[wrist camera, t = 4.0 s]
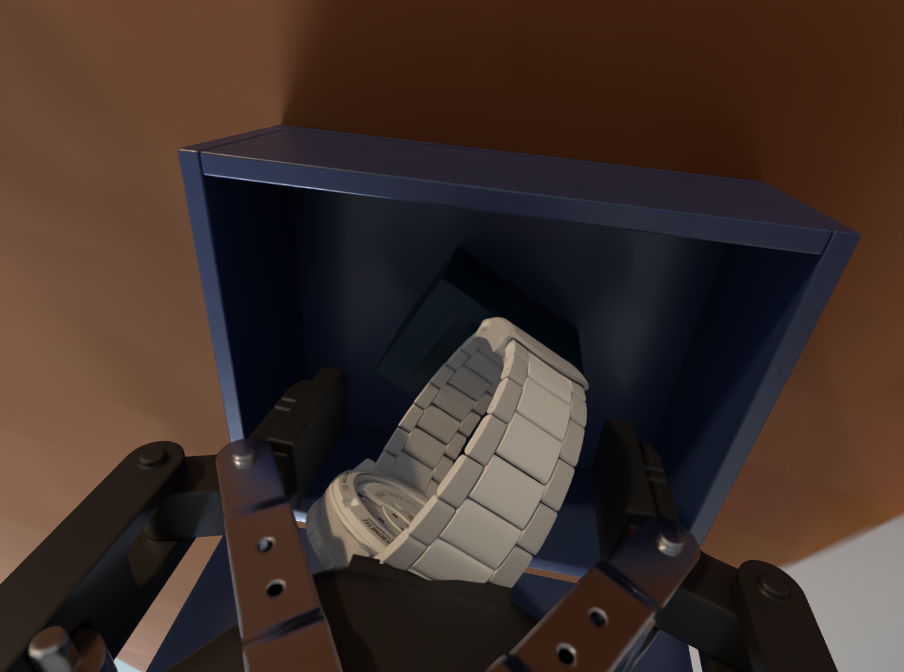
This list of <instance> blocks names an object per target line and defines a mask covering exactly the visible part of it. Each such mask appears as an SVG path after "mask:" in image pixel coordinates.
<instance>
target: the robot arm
mask: <svg viewBox="0 0 904 672" xmlns="http://www.w3.org/2000/svg"><path fill="white" fill-rule="evenodd" d="M347 417H348V374H347V371H345V370H339V369H334V368H328V367H322V368H321V369H320V370H319V371H318V373H317V374H316V375H315V377H314V378H313V379H312V380H311V381H310V380H305V379H303V380H301V381H300V382H298V383H296V384H294V385H293V386H291V387H289V389H288V390H287V391H286V392H285V394H284V395H283V396H282V397H281V400H279V401H278V402H277V404H276V405H275V406H274V409H272V410H271V411H270V412H269V413H268V415H267V416H266V417H265V418H264V420H263V421H262V422H261V423H260V424H259V426H258V427H257V428H256V429H255V431H254V432H253V433H252V434H251V436H250V437H249V438H244V439H240V440H236V441H234V442H231V443H229V444H228V445H226V446H225V447H223V448H222V449H221V450H220V452H219V453H218V455H207V456H188V457H185V454H184V450H183V448H182V447H181V446H180V445H179V444H177V443H174V442H170V441H158V442H153V443H149V444H146V445H143V446H141V447H139V448H137V449H135V450H134V451H132V452H131V453H130V454H129V455H128V456H127V457H126V458H125V459H124V460H123V461H122V462H121V463H120V464H119V465H118V466H117V467H116V468H115V469H114V470H113V471H112V472H111V473H110V474H109V475H108V476H107V477H106V478H105V479H104V480H103V481H102V482H101V483H100V484H99V485H98V486H97V487H96V488H95V489H94V490H93V491H92V492H91V493H90V494H89V495H88V496H87V497H86V498H85V499H84V500H83V501H82V502H81V503H80V504H79V505H78V506H77V507H76V508H75V509H74V510H73V511H72V512H71V513H70V514H69V515H68V516H67V517H66V518H65V519H64V520H63V521H62V522H61V523H60V524H59V525H58V526H57V527H56V529H55V530H54V531H53V532H52V533H51V534H50V535H49V536H48V537H47V538H46V539H45V540H44V541H43V542H42V543H41V544H40V545H39V546H38V547H37V548H36V549H35V550H34V551H33V552H32V553H31V554H30V555H29V556H28V557H27V558H26V559H25V560H24V561H23V562H22V563H21V564H20V565H19V566H18V567H17V568H16V569H15V570H14V571H13V572H12V573H11V574H10V575H9V576H8V577H7V578H6V579H5V580H4V581H3V582H2V583H1V584H0V672H118V671H117V668H116V666H115V664H114V659H115V658H116V656H117V655H118V653H119V652H120V651H121V649H122V648H123V646H124V645H125V643H126V642H127V640H128V639H129V637H130V636H131V634H132V633H133V631H134V630H135V628H136V627H137V625H138V624H139V622H140V621H141V619H142V618H143V616H144V615H145V613H146V612H147V610H148V609H149V607H150V606H151V604H152V603H153V601H154V600H155V598H156V597H157V595H158V594H159V592H160V591H161V589H162V588H163V586H164V585H165V583H166V582H167V580H168V579H169V577H170V576H171V574H172V573H173V571H174V570H175V569H176V567H177V566H178V564H179V563H180V561H181V560H182V558H183V557H184V555H185V554H186V552H187V551H188V549H189V548H190V546H191V545H192V543H193V542H194V540H195V539H196V537H207V536H219V535H226V541H227V548H228V555H229V562H230V569H231V575H232V582H233V589H234V596H235V603H236V609H237V616H238V623H237V624H235V625H234V626H232V627H231V628H229V629H228V630H226V631H225V632H223V633H222V634H220V635H219V636H217V637H216V638H214V639H213V640H211V641H210V642H208V643H207V644H205V645H204V646H202V647H201V648H199V649H198V650H196V651H195V652H193V653H192V654H190V655H189V656H187V657H186V658H184V659H183V660H181V661H180V662H178V663H177V664H175V665H174V666H172V667H171V668H169V669H168V670H166V671H165V672H632V671H633V670H634V668H635V667H636V665H637V664H638V663H639V661H640V660H641V658H642V657H643V656H644V654H645V653H646V651H647V650H648V648H649V647H650V646H651V644H652V643H653V641H654V640H655V638H656V637H657V636H658V634H659V633H660V631H661V630H662V631H664V632H666V633H668V634H670V635H671V636H673V637H675V638H677V639H679V640H681V641H683V642H685V643H687V644H688V645H690V646H692V647H694V648H696V649H698V652H699V657H700V662H701V666H702V671H703V672H838V671H837V668H836V666H835V664H834V661H833V659H832V657H831V654H830V652H829V650H828V647H827V645H826V643H825V640H824V638H823V636H822V634H821V631H820V629H819V626H818V624H817V622H816V619H815V617H814V615H813V612H812V610H811V608H810V606H809V603H808V601H807V599H806V596H805V594H804V592H803V590H802V589H801V588H800V586H799V585H798V584H797V583H796V582H795V580H793V579H792V578H791V577H790V576H789V575H788V574H787V573H785V572H784V571H782V570H781V569H779V568H777V567H776V566H774V565H771V564H769V563H766V562H763V561H758V560H750V561H746V562H744V563H742V564H741V566H740V567H739V569H737V568H735V567H733V566H730V565H728V564H726V563H724V562H722V561H719V560H717V559H715V558H713V557H711V556H709V555H707V554H706V553H704V552H702V551H701V550H700V547H699V544H698V542H697V540H696V539H695V537H694V536H693V535H692V534H691V533H690V532H689V531H688V530H687V529H686V528H685V527H683V526H682V525H680V521H679V518H678V514H677V511H676V508H675V504H674V501H673V497H672V494H671V490H670V487H669V484H668V480H667V477H666V473H664V467H663V463H662V460H661V456H660V455H659V454H658V453H657V451H656V450H655V449H654V448H653V446H652V445H651V444H650V443H649V442H643V441H638V437H637V433H636V429H635V425H634V423H633V422H628V421H623V420H617V419H611V418H607V419H606V420H605V422H604V425H603V429H602V432H601V435H600V438H599V441H598V444H597V448H596V451H595V454H594V458H593V462H592V486H593V495H594V504H595V513H596V522H597V532H598V541H599V550H600V559H601V561H598V562H597V563H595V564H594V565H593V566H592V567H591V568H590V569H589V570H588V571H587V572H586V574H585V575H584V576H583V577H582V578H581V579H580V580H579V581H578V582H577V583H576V584H575V585H574V586H573V587H572V588H571V589H570V590H569V591H568V592H567V593H566V594H565V595H564V596H563V598H562V599H561V600H560V601H559V602H558V603H557V604H556V605H555V606H554V607H553V608H552V609H551V610H550V611H549V612H548V613H547V614H546V615H545V616H544V617H543V618H542V619H541V620H540V621H538V620H537V619H536V618H535V617H534V616H533V615H531V614H530V613H529V612H528V611H526V610H525V609H523V608H522V607H520V606H519V605H517V604H515V603H513V602H511V596H512V588H509V587H505V586H500V585H495V584H491V583H479V582H471V581H464V580H427V579H425V578H423V577H421V576H419V575H417V574H415V573H413V572H411V571H408V570H403V569H398V568H395V567H392V566H390V565H389V564H387V563H383V564H380V559H375V558H371V557H366V556H361V555H357V554H353V555H352V558H351V560H350V563H349V565H348V566H342V567H336V568H331V569H327V570H323V571H320V572H318V573H315V574H313V575H312V573H311V570H310V566H309V563H308V560H307V556H306V553H305V549H304V546H303V543H302V539H301V536H300V532H299V529H298V525H297V522H296V519H295V515H294V512H293V508H292V507H296V508H299V507H300V506H301V504H302V502H303V500H304V498H305V497H306V495H307V493H308V491H309V490H310V488H311V486H312V484H313V483H314V481H315V479H316V477H317V475H318V474H319V472H320V470H321V468H322V467H323V465H324V463H325V461H326V460H327V458H328V456H329V454H330V452H331V451H332V449H333V447H334V445H335V444H336V442H337V440H338V438H339V437H340V435H341V433H342V431H343V429H344V427H345V425H346V421H347Z"/></svg>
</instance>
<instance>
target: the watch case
mask: <svg viewBox="0 0 904 672" xmlns="http://www.w3.org/2000/svg"><path fill="white" fill-rule="evenodd" d="M178 155H179V161H180V166H181V172H182V177H183V183H184V188H185V194H186V199H187V205H188V210H189V216H190V221H191V227H192V232H193V238H194V243H195V249H196V254H197V260H198V265H199V271H200V276H201V282H202V287H203V293H204V298H205V304H206V309H207V315H208V320H209V326H210V331H211V337H212V342H213V348H214V353H215V359H216V364H217V370H218V375H219V381H220V386H221V392H222V397H223V403H224V408H225V414H226V419H227V425H228V430H229V436H230V441H231V442H234V441H236V440H240V439H244V438H249V437H250V436H251V434H252V433H253V432H254V431H255V429H256V428H257V427H258V426H259V424H260V423H261V422H262V421H263V420H264V418H265V417H266V416H267V415H268V413H269V412H270V411H271V410H272V409H274V406H275V405H276V404H277V402H278V401H279V400H281V397H282V396H283V395H284V394H285V392H286V391H287V390H288V389H289V387H291V386H293V385H294V384H296V383H298V382H300V381H301V380H303V379H305V380H310V381H311V380H312V379H313V378H314V377H315V375H316V374H317V373H318V371H319V370H320V369H321V368H322V367H328V368H334V369H339V370H345V371H347V374H348V417H347V421H346V425H345V427H344V429H343V431H342V433H341V435H340V437H339V438H338V440H337V442H336V444H335V445H334V447H333V449H332V451H331V452H330V454H329V456H328V458H327V460H326V461H325V463H324V465H323V467H322V468H321V470H320V472H319V474H318V475H317V477H316V479H315V481H314V483H313V484H312V486H311V488H310V490H309V491H308V493H307V495H306V497H305V498H304V500H303V502H302V504H301V506H300V507H299V508H296V507H292V508H293V512H294V515H295V519H296V520H297V521H302V522H306V516H307V514H308V512H309V510H310V508H311V507H312V505H313V504H314V503H315V502H316V501H317V500H318V499H319V498H321V497H322V496H323V494H324V493H325V491H326V490H327V488H328V487H329V485H330V484H331V482H332V481H333V480H334V478H335V477H336V476H338V475H340V474H341V473H343V472H345V471H347V470H353V469H355V468H356V467H357V466H358V465H359V464H361V463H362V462H363V461H364V460H366V459H368V458H369V459H370V460H372V461H374V462H375V464H376V462H377V460H378V458H379V457H380V455H381V454H382V452H383V451H384V450H383V449H384V447H385V446H386V444H387V443H388V441H389V439H390V438H391V436H392V435H393V433H394V432H395V430H396V429H397V427H398V428H400V429H402V428H401V427H399V426H398V425H399V423H400V422H401V420H402V419H403V417H404V416H405V414H406V413H407V411H408V410H409V409H410V407H411V406H412V404H415V403H414V401H415V399H416V398H417V397H415V396H414V395H412V394H411V393H409V392H407V391H406V390H404V389H403V388H401V387H400V386H398V385H397V384H395V383H393V382H392V381H390V380H389V379H387V378H386V377H384V376H382V375H381V374H379V373H378V372H376V371H375V370H376V368H377V367H378V365H379V363H380V361H381V359H382V357H383V356H384V354H385V352H386V350H387V348H388V346H389V345H390V343H391V341H392V339H393V337H394V335H395V334H396V332H397V330H398V328H399V327H400V326H401V324H402V323H403V321H404V320H405V319H406V317H407V316H408V314H409V313H410V312H411V310H412V309H413V307H414V306H415V305H416V303H417V302H418V300H419V299H420V298H421V296H422V295H423V293H424V292H425V291H426V289H427V288H428V286H429V285H430V284H431V282H432V281H433V279H434V278H435V277H436V275H437V274H438V273H439V271H440V270H441V268H442V267H443V266H444V264H445V263H446V261H447V260H448V259H449V257H450V256H451V254H452V253H453V252H454V250H455V249H456V247H457V246H459V247H461V248H462V249H463V250H465V251H466V252H468V253H469V254H471V255H472V256H473V257H475V258H476V259H478V260H479V261H480V262H482V263H483V264H485V265H486V266H488V267H489V268H490V269H492V270H493V271H495V272H496V273H497V274H499V275H500V276H502V277H503V278H505V279H506V280H507V281H509V282H510V283H512V284H513V285H514V286H516V287H517V288H519V289H520V290H522V291H523V292H524V293H526V294H527V295H529V296H530V297H531V298H533V299H534V300H536V301H537V302H538V303H540V304H541V305H543V306H544V307H546V308H547V309H548V310H550V311H551V312H553V313H554V314H555V315H557V316H558V317H560V318H561V319H563V320H564V321H565V322H567V323H568V324H570V325H571V326H572V327H574V328H575V329H577V330H578V333H579V341H580V349H581V356H582V364H583V372H584V378H585V379H586V381H587V382H588V387H589V388H588V389H587V390H586V391H584V393H585V396H586V401H585V403H586V407H587V420H586V426H585V427H584V430H585V432H584V438H583V443H582V447H581V452H580V455H579V459H578V462H577V464H576V466H575V467H573V468H574V475H573V477H572V480H571V483H570V486H569V488H568V491H567V494H566V496H565V498H564V501H563V503H562V505H561V507H560V509H559V510H558V511H555V510H554V509H552V508H551V507H549V506H548V505H546V504H544V503H543V502H541V501H540V503H542V504H544V505H545V506H547V507H548V508H550V509H552V510H553V511H555V512H556V513H557V517H556V520H555V522H554V524H553V526H552V528H551V530H550V532H549V534H548V535H547V537H546V539H545V541H544V543H543V544H542V546H541V548H540V549H539V551H538V553H537V554H536V555H533V554H532V553H531V555H532V560H531V562H530V564H529V565H528V567H532V568H537V569H542V570H547V571H552V572H557V573H562V574H567V575H572V576H577V577H583V576H584V575H585V574H586V572H587V571H588V570H589V569H590V568H591V567H592V566H593V565H594V564H595V563H597V562H598V561H601V559H600V550H599V541H598V532H597V522H596V513H595V504H594V495H593V486H592V462H593V458H594V454H595V451H596V448H597V444H598V441H599V438H600V435H601V432H602V429H603V425H604V422H605V420H606V419H607V418H611V419H617V420H623V421H628V422H633V423H634V425H635V429H636V433H637V437H638V441H643V442H649V443H650V444H651V445H652V446H653V448H654V449H655V450H656V451H657V453H658V454H659V455H660V456H661V460H662V463H663V467H664V473H666V477H667V480H668V484H669V487H670V490H671V494H672V497H673V501H674V504H675V508H676V511H677V514H678V518H679V521H680V525H682V526H683V527H685V528H686V529H687V530H688V531H689V532H690V533H691V534H692V535H693V536H694V537H695V539H696V540H697V542H698V544H699V547H701V545H702V543H703V541H704V539H705V537H706V535H707V534H708V532H709V530H710V528H711V526H712V524H713V522H714V520H715V518H716V516H717V514H718V512H719V510H720V508H721V506H722V505H723V503H724V501H725V499H726V497H727V495H728V493H729V491H730V489H731V487H732V485H733V483H734V481H735V479H736V477H737V476H738V474H739V472H740V470H741V468H742V466H743V464H744V462H745V460H746V458H747V456H748V454H749V452H750V450H751V448H752V446H753V445H754V443H755V441H756V439H757V437H758V435H759V433H760V431H761V429H762V427H763V425H764V423H765V421H766V419H767V417H768V416H769V414H770V412H771V410H772V408H773V406H774V404H775V402H776V400H777V398H778V396H779V394H780V392H781V390H782V388H783V387H784V385H785V383H786V381H787V379H788V377H789V375H790V373H791V371H792V369H793V367H794V365H795V363H796V361H797V359H798V358H799V356H800V354H801V352H802V350H803V348H804V346H805V344H806V342H807V340H808V338H809V336H810V334H811V332H812V330H813V329H814V327H815V325H816V323H817V321H818V319H819V317H820V315H821V313H822V311H823V309H824V307H825V305H826V303H827V301H828V299H829V298H830V296H831V294H832V292H833V290H834V288H835V286H836V284H837V282H838V280H839V278H840V276H841V274H842V272H843V270H844V269H845V267H846V265H847V263H848V261H849V259H850V257H851V255H852V253H853V251H854V249H855V247H856V245H857V243H858V241H859V240H860V238H861V234H860V233H858V232H856V231H854V230H853V229H851V228H849V227H847V226H845V225H843V224H841V223H839V222H838V221H836V220H834V219H832V218H830V217H828V216H826V215H825V214H823V213H821V212H819V211H817V210H815V209H813V208H812V207H810V206H808V205H806V204H804V203H802V202H800V201H798V200H797V199H795V198H793V197H791V196H789V195H787V194H785V193H784V192H782V191H780V190H778V189H776V188H774V187H772V186H771V185H769V184H767V183H765V182H763V181H755V180H747V179H738V178H730V177H721V176H713V175H704V174H695V173H687V172H678V171H670V170H661V169H653V168H644V167H636V166H627V165H619V164H610V163H602V162H593V161H585V160H576V159H568V158H559V157H551V156H542V155H534V154H525V153H517V152H508V151H500V150H491V149H483V148H474V147H466V146H457V145H449V144H440V143H432V142H423V141H415V140H406V139H398V138H389V137H381V136H372V135H364V134H355V133H347V132H338V131H330V130H321V129H313V128H304V127H296V126H287V125H277V126H273V127H269V128H264V129H260V130H256V131H251V132H247V133H243V134H239V135H234V136H230V137H226V138H221V139H217V140H213V141H209V142H204V143H200V144H196V145H191V146H187V147H183V148H179V149H178ZM415 405H416V404H415ZM417 406H418V405H417ZM418 407H420V406H418ZM420 408H421V407H420ZM421 409H423V408H421ZM423 410H424V409H423ZM416 427H417V428H419V429H421V428H420V427H418V426H416ZM402 430H404V429H402ZM421 430H422V431H424V430H423V429H421ZM404 431H405V432H407V431H406V430H404ZM424 432H425V433H427V432H426V431H424ZM457 432H459V431H457ZM407 433H408V434H409V432H407ZM459 433H460V432H459ZM427 434H428V435H430V436H432V435H431V434H429V433H427ZM461 434H462V433H461ZM462 435H464V434H462ZM473 435H474V434H473V433H472V432H471V434H470V435H469V436H468V437H467V436H465V435H464V436H465V437H466V441H465V443H464V445H463V447H462V449H461V451H460V453H459V454H458V456H457V458H456V459H455V460H452V459H451V458H449V457H447V456H446V455H444V454H443V455H444V456H445V457H447V458H448V459H450V460H452V461H453V465H454V463H455V462H456V460H457V459H458V458H459V457H460V456H461V455H465V456H467V457H469V458H470V459H472V460H474V459H473V458H471V457H470V456H468V455H466V454H465V448H466V446H467V445H468V443H469V441H470V440H471V438H472V437H473ZM432 437H433V438H435V437H434V436H432ZM435 439H436V440H438V441H440V440H439V439H437V438H435ZM440 442H441V443H443V442H442V441H440ZM443 444H444V445H446V444H445V443H443ZM401 451H402V450H401ZM402 452H404V451H402ZM404 453H405V452H404ZM406 454H407V453H406ZM407 455H408V454H407ZM494 455H496V456H498V457H499V458H501V459H502V460H504V461H505V462H507V463H509V464H510V465H512V466H513V467H515V468H516V469H518V470H520V471H521V472H523V473H524V474H526V475H527V476H529V477H531V478H532V479H534V480H535V481H537V482H538V483H540V484H541V482H540V481H538V480H537V479H535V478H533V477H532V476H530V475H529V474H527V473H526V472H524V471H522V470H521V469H519V468H518V467H516V466H515V465H513V464H511V463H510V462H508V461H507V460H505V459H504V458H502V457H500V456H499V455H497V454H496V453H494ZM409 456H410V455H409ZM410 457H412V456H410ZM412 458H413V457H412ZM414 459H415V458H414ZM415 460H417V459H415ZM417 461H418V460H417ZM474 461H475V462H477V463H478V464H480V465H482V464H481V463H479V462H478V461H476V460H474ZM419 462H420V461H419ZM420 463H421V462H420ZM422 464H423V463H422ZM423 465H425V464H423ZM425 466H426V465H425ZM427 467H428V466H427ZM428 468H430V467H428ZM430 469H431V468H430ZM432 470H433V469H432ZM467 497H469V496H467ZM469 498H470V497H469ZM470 499H472V498H470ZM472 500H473V499H472ZM474 501H475V500H474ZM475 502H477V501H475ZM477 503H478V502H477ZM479 504H480V503H479ZM480 505H482V504H480ZM482 506H483V505H482ZM484 507H485V506H484ZM485 508H487V507H485ZM487 509H488V508H487ZM488 510H490V509H488ZM490 511H491V510H490ZM492 512H493V511H492ZM493 513H495V512H493ZM495 514H496V513H495ZM497 515H498V514H497ZM498 516H500V515H498ZM500 517H501V516H500ZM501 518H503V517H501ZM503 519H504V518H503ZM505 520H506V519H505ZM506 521H508V520H506ZM508 522H509V521H508ZM510 523H511V522H510ZM511 524H513V523H511ZM513 525H514V524H513ZM515 526H516V525H515ZM516 527H517V526H516Z"/></svg>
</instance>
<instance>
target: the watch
mask: <svg viewBox="0 0 904 672" xmlns="http://www.w3.org/2000/svg"><path fill="white" fill-rule="evenodd" d="M375 371H376V372H378V373H379V374H381V375H382V376H384V377H386V378H387V379H389V380H390V381H392V382H393V383H395V384H397V385H398V386H400V387H401V388H403V389H404V390H406V391H407V392H409V393H411V394H412V395H414V396H415V397H417V398H416V399H415V401H414V403H415V404H416V405H415V404H412V406H411V407H410V409H409V410H408V411H407V413H406V414H405V416H404V417H403V419H402V420H401V422H400V423H399V425H398V426H399V427H401V428H402V429H404V430H406V431H407V432H409V434H408V433H407V432H405V431H404V430H402V429H400V428H398V427H397V429H396V430H395V432H394V433H393V435H392V436H391V438H390V439H389V441H388V443H387V444H386V446H385V447H384V449H383V450H384V451H383V452H382V454H381V455H380V457H379V458H378V460H377V462H376V464H375V462H374V461H372V460H370V459H369V458H368V459H366V460H364V461H363V462H362V463H361V464H359V465H358V466H357V467H356V468H355V469H353V470H347V471H345V472H343V473H341V474H340V475H338V476H336V477H335V478H334V480H333V481H332V482H331V484H330V485H329V487H328V488H327V490H326V491H325V493H324V494H323V496H322V497H321V498H319V499H318V500H317V501H316V502H315V503H314V504H313V505H312V507H311V508H310V510H309V512H308V514H307V516H306V529H307V530H306V532H307V535H308V539H309V542H310V543H311V546H312V548H313V550H314V552H315V554H316V555H317V557H318V558H319V560H320V562H321V563H322V565H323V566H324V567H325V569H326V570H327V569H331V568H336V567H342V566H348V565H349V563H350V560H351V558H352V555H353V554H357V555H361V556H366V557H371V558H375V559H380V564H383V563H387V564H389V565H390V566H392V567H395V568H398V569H403V570H408V571H411V572H413V573H415V574H417V575H419V576H421V577H423V578H425V579H427V580H464V581H471V582H479V583H491V584H495V585H500V586H505V587H509V588H512V587H513V586H514V584H515V583H516V582H517V581H518V579H519V578H520V577H521V575H522V574H523V572H524V571H525V569H526V568H527V567H528V565H529V564H530V562H531V560H532V555H531V553H532V554H533V555H536V554H537V553H538V551H539V549H540V548H541V546H542V544H543V543H544V541H545V539H546V537H547V535H548V534H549V532H550V530H551V528H552V526H553V524H554V522H555V520H556V517H557V513H556V512H555V511H558V510H559V509H560V507H561V505H562V503H563V501H564V498H565V496H566V494H567V491H568V488H569V486H570V483H571V480H572V477H573V475H574V468H573V467H575V466H576V464H577V462H578V459H579V455H580V452H581V447H582V443H583V438H584V432H585V430H584V427H585V426H586V420H587V407H586V403H585V401H586V396H585V393H584V391H586V390H587V389H588V388H589V387H588V382H587V381H586V379H585V378H584V372H583V364H582V356H581V349H580V341H579V333H578V330H577V329H575V328H574V327H572V326H571V325H570V324H568V323H567V322H565V321H564V320H563V319H561V318H560V317H558V316H557V315H555V314H554V313H553V312H551V311H550V310H548V309H547V308H546V307H544V306H543V305H541V304H540V303H538V302H537V301H536V300H534V299H533V298H531V297H530V296H529V295H527V294H526V293H524V292H523V291H522V290H520V289H519V288H517V287H516V286H514V285H513V284H512V283H510V282H509V281H507V280H506V279H505V278H503V277H502V276H500V275H499V274H497V273H496V272H495V271H493V270H492V269H490V268H489V267H488V266H486V265H485V264H483V263H482V262H480V261H479V260H478V259H476V258H475V257H473V256H472V255H471V254H469V253H468V252H466V251H465V250H463V249H462V248H461V247H459V246H457V247H456V249H455V250H454V252H453V253H452V254H451V256H450V257H449V259H448V260H447V261H446V263H445V264H444V266H443V267H442V268H441V270H440V271H439V273H438V274H437V275H436V277H435V278H434V279H433V281H432V282H431V284H430V285H429V286H428V288H427V289H426V291H425V292H424V293H423V295H422V296H421V298H420V299H419V300H418V302H417V303H416V305H415V306H414V307H413V309H412V310H411V312H410V313H409V314H408V316H407V317H406V319H405V320H404V321H403V323H402V324H401V326H400V327H399V328H398V330H397V332H396V334H395V335H394V337H393V339H392V341H391V343H390V345H389V346H388V348H387V350H386V352H385V354H384V356H383V357H382V359H381V361H380V363H379V365H378V367H377V368H376V370H375ZM417 405H418V406H420V407H421V408H423V409H424V410H423V409H421V408H420V407H418V406H417ZM416 426H418V427H420V428H421V429H423V430H424V431H426V432H427V433H429V434H431V435H432V436H434V437H435V438H437V439H439V440H440V441H442V442H443V443H445V444H446V445H444V444H443V443H441V442H440V441H438V440H436V439H435V438H433V437H432V436H430V435H428V434H427V433H425V432H424V431H422V430H421V429H419V428H417V427H416ZM457 431H459V432H460V433H459V432H457ZM471 432H472V433H473V434H474V435H473V437H472V438H471V440H470V441H469V443H468V445H467V446H466V448H465V454H466V455H468V456H470V457H471V458H473V459H474V460H476V461H478V462H479V463H481V464H482V465H480V464H478V463H477V462H475V461H474V460H472V459H470V458H469V457H467V456H465V455H461V456H460V457H459V458H458V459H457V460H456V462H455V463H454V465H453V461H452V460H455V459H456V458H457V456H458V454H459V453H460V451H461V449H462V447H463V445H464V443H465V441H466V437H465V436H467V437H468V436H469V435H470V434H471ZM461 433H462V434H464V435H465V436H464V435H462V434H461ZM401 450H402V451H404V452H405V453H404V452H402V451H401ZM406 453H407V454H408V455H407V454H406ZM494 453H496V454H497V455H499V456H500V457H502V458H504V459H505V460H507V461H508V462H510V463H511V464H513V465H515V466H516V467H518V468H519V469H521V470H522V471H524V472H526V473H527V474H529V475H530V476H532V477H533V478H535V479H537V480H538V481H540V482H541V484H540V483H538V482H537V481H535V480H534V479H532V478H531V477H529V476H527V475H526V474H524V473H523V472H521V471H520V470H518V469H516V468H515V467H513V466H512V465H510V464H509V463H507V462H505V461H504V460H502V459H501V458H499V457H498V456H496V455H494ZM443 454H444V455H446V456H447V457H449V458H451V459H452V460H450V459H448V458H447V457H445V456H444V455H443ZM409 455H410V456H412V457H413V458H412V457H410V456H409ZM414 458H415V459H417V460H418V461H417V460H415V459H414ZM419 461H420V462H421V463H420V462H419ZM422 463H423V464H425V465H426V466H425V465H423V464H422ZM427 466H428V467H430V468H431V469H430V468H428V467H427ZM432 469H433V470H432ZM467 496H469V497H470V498H472V499H473V500H472V499H470V498H469V497H467ZM474 500H475V501H477V502H478V503H477V502H475V501H474ZM540 501H541V502H543V503H544V504H546V505H548V506H549V507H551V508H552V509H554V510H555V511H553V510H552V509H550V508H548V507H547V506H545V505H544V504H542V503H540ZM479 503H480V504H482V505H483V506H482V505H480V504H479ZM484 506H485V507H487V508H488V509H490V510H491V511H490V510H488V509H487V508H485V507H484ZM492 511H493V512H495V513H496V514H495V513H493V512H492ZM497 514H498V515H500V516H501V517H503V518H504V519H503V518H501V517H500V516H498V515H497ZM505 519H506V520H508V521H509V522H508V521H506V520H505ZM510 522H511V523H513V524H514V525H513V524H511V523H510ZM515 525H516V526H517V527H516V526H515Z"/></svg>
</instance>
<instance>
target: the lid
mask: <svg viewBox="0 0 904 672" xmlns="http://www.w3.org/2000/svg"><path fill="white" fill-rule="evenodd" d="M298 529H299V532H300V536H301V539H302V543H303V546H304V549H305V553H306V556H307V560H308V563H309V566H310V570H311V573H312V575H313V574H315V573H318V572H320V571H323V570H326V569H325V567H324V566H323V565H322V563H321V562H320V560H319V558H318V557H317V555H316V554H315V552H314V550H313V548H312V546H311V543H310V542H309V539H308V535H307V532H306V530H307V529H303V528H298ZM575 584H576V583H572V582H567V581H562V580H557V579H552V578H547V577H542V576H537V575H532V574H527V573H523V574H522V575H521V577H520V578H519V579H518V581H517V582H516V583H515V584H514V586H513V587H512V596H511V602H513V603H515V604H517V605H519V606H520V607H522V608H523V609H525V610H526V611H528V612H529V613H530V614H531V615H533V616H534V617H535V618H536V619H537V620H538V621H540V620H541V619H542V618H543V617H544V616H545V615H546V614H547V613H548V612H549V611H550V610H551V609H552V608H553V607H554V606H555V605H556V604H557V603H558V602H559V601H560V600H561V599H562V598H563V596H564V595H565V594H566V593H567V592H568V591H569V590H570V589H571V588H572V587H573V586H574V585H575ZM237 623H238V616H237V609H236V603H235V596H234V589H233V582H232V575H231V569H230V562H229V555H228V548H227V541H226V535H223V537H222V538H221V540H220V542H219V544H218V545H217V547H216V549H215V551H214V552H213V554H212V556H211V558H210V560H209V561H208V563H207V565H206V567H205V568H204V570H203V572H202V574H201V575H200V577H199V579H198V581H197V582H196V584H195V586H194V588H193V589H192V591H191V593H190V595H189V597H188V598H187V600H186V602H185V604H184V605H183V607H182V609H181V611H180V612H179V614H178V616H177V618H176V619H175V621H174V623H173V625H172V626H171V628H170V630H169V632H168V634H167V635H166V637H165V639H164V641H163V642H162V644H161V646H160V648H159V649H158V651H157V653H156V655H155V656H154V658H153V660H152V662H151V663H150V665H149V667H148V669H147V671H146V672H165V671H166V670H168V669H169V668H171V667H172V666H174V665H175V664H177V663H178V662H180V661H181V660H183V659H184V658H186V657H187V656H189V655H190V654H192V653H193V652H195V651H196V650H198V649H199V648H201V647H202V646H204V645H205V644H207V643H208V642H210V641H211V640H213V639H214V638H216V637H217V636H219V635H220V634H222V633H223V632H225V631H226V630H228V629H229V628H231V627H232V626H234V625H235V624H237ZM632 672H693V669H692V664H691V657H690V652H689V646H688V644H687V643H685V642H683V641H681V640H679V639H677V638H675V637H673V636H671V635H670V634H668V633H666V632H664V631H662V630H661V631H660V633H659V634H658V636H657V637H656V638H655V640H654V641H653V643H652V644H651V646H650V647H649V648H648V650H647V651H646V653H645V654H644V656H643V657H642V658H641V660H640V661H639V663H638V664H637V665H636V667H635V668H634V670H633V671H632Z"/></svg>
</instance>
